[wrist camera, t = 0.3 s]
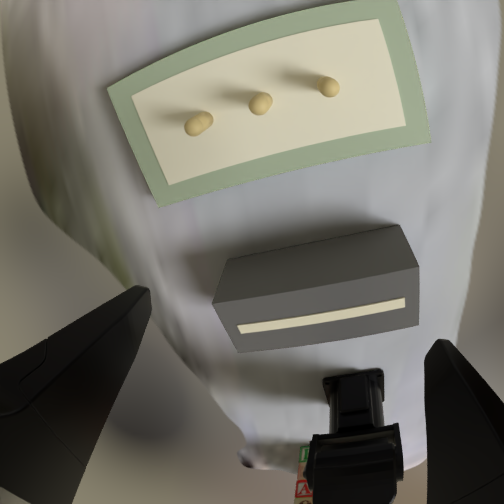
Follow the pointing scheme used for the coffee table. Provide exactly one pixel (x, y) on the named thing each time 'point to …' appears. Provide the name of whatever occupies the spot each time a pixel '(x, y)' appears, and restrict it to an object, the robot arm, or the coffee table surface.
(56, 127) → the coffee table surface
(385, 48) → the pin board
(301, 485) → the stack of blocks
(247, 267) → the panel
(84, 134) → the coffee table surface
